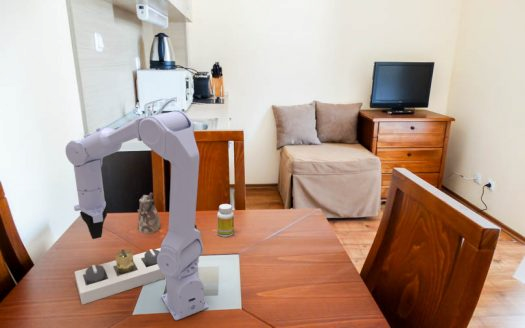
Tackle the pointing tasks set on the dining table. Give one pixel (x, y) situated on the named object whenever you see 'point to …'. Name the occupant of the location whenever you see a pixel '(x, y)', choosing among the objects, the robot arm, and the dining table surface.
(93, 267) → the black knob
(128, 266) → the brass knob middle
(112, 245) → the dining table surface
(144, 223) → the figurine
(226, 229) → the supplement bottle
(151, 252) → the black knob
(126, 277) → the control deck
